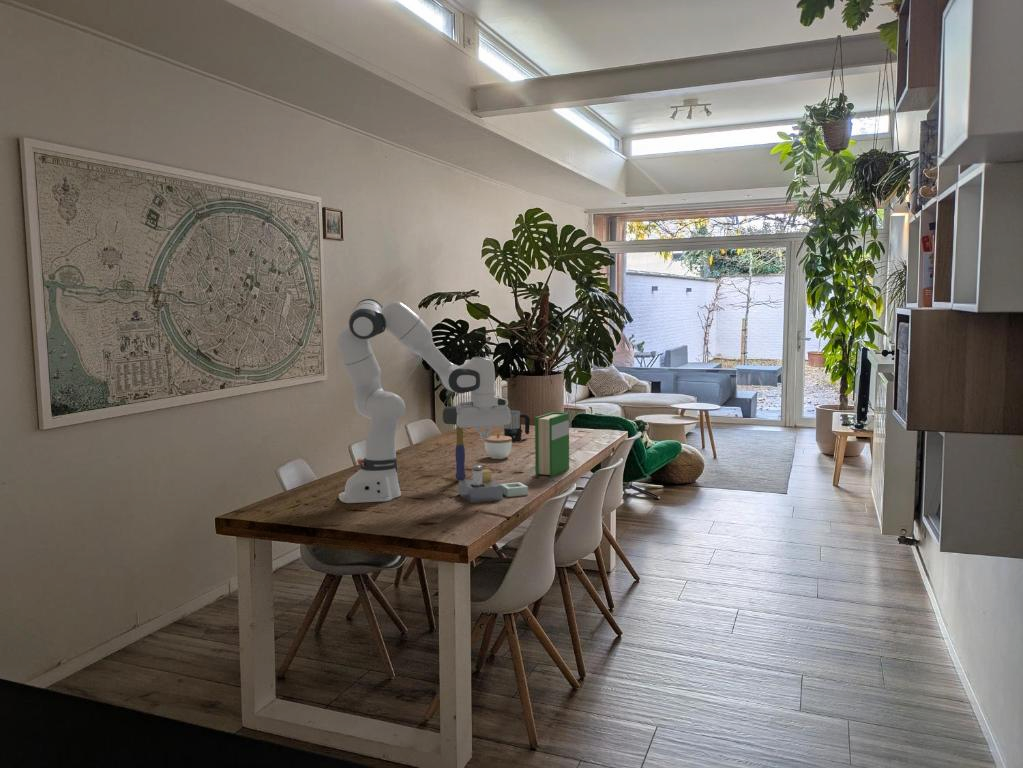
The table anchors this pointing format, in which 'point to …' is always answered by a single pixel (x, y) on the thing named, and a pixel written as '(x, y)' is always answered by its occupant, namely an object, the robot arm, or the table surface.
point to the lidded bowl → (498, 446)
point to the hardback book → (552, 443)
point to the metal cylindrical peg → (477, 476)
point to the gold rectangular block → (486, 475)
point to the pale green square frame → (514, 489)
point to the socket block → (480, 491)
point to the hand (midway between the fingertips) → (484, 438)
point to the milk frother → (516, 425)
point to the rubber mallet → (451, 418)
